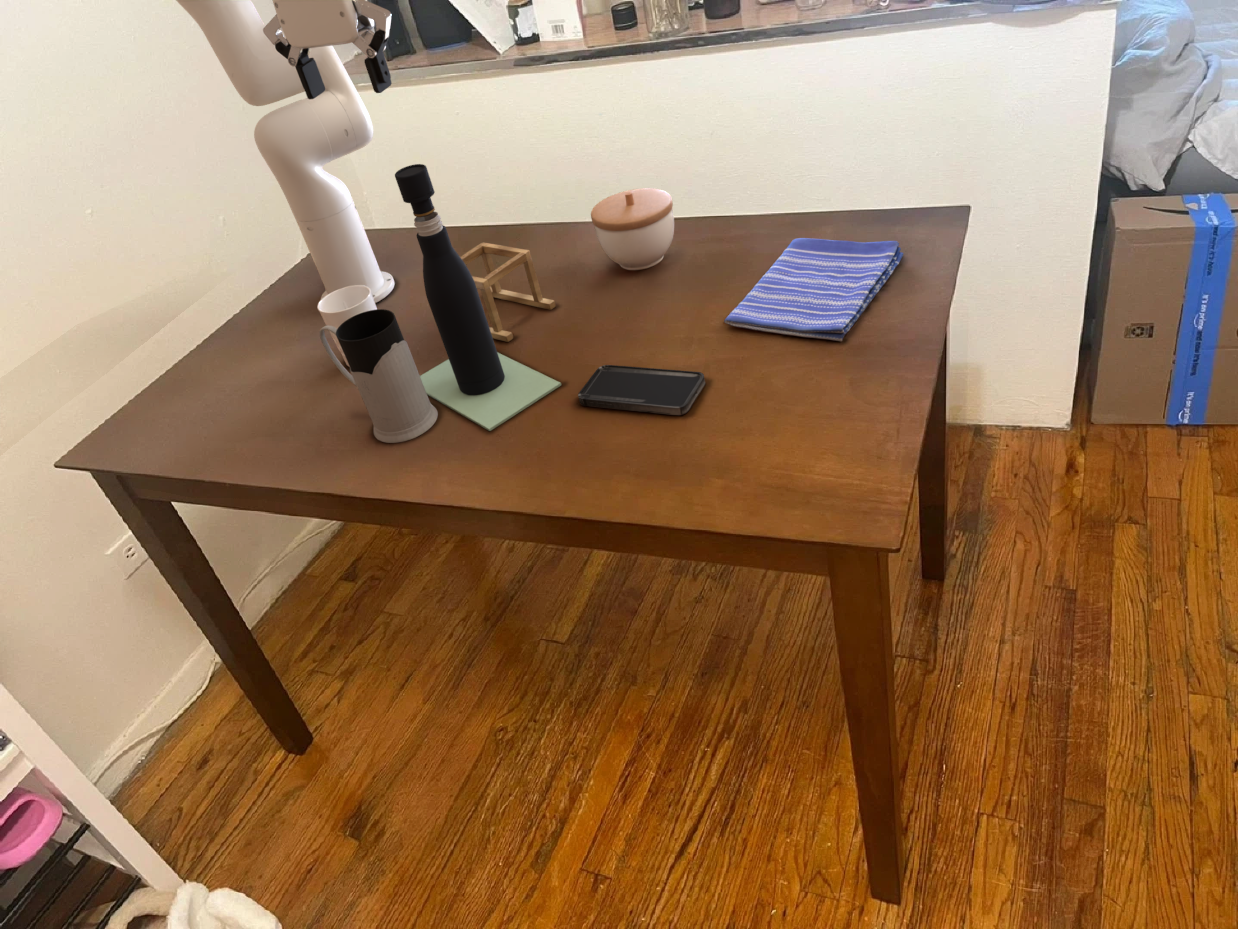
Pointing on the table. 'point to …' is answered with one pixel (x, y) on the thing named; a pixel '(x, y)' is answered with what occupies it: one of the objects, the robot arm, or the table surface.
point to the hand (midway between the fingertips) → (350, 92)
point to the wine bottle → (451, 291)
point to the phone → (642, 389)
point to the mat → (497, 404)
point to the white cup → (345, 307)
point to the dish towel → (817, 288)
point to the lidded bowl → (635, 227)
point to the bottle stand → (494, 275)
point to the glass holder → (383, 375)
